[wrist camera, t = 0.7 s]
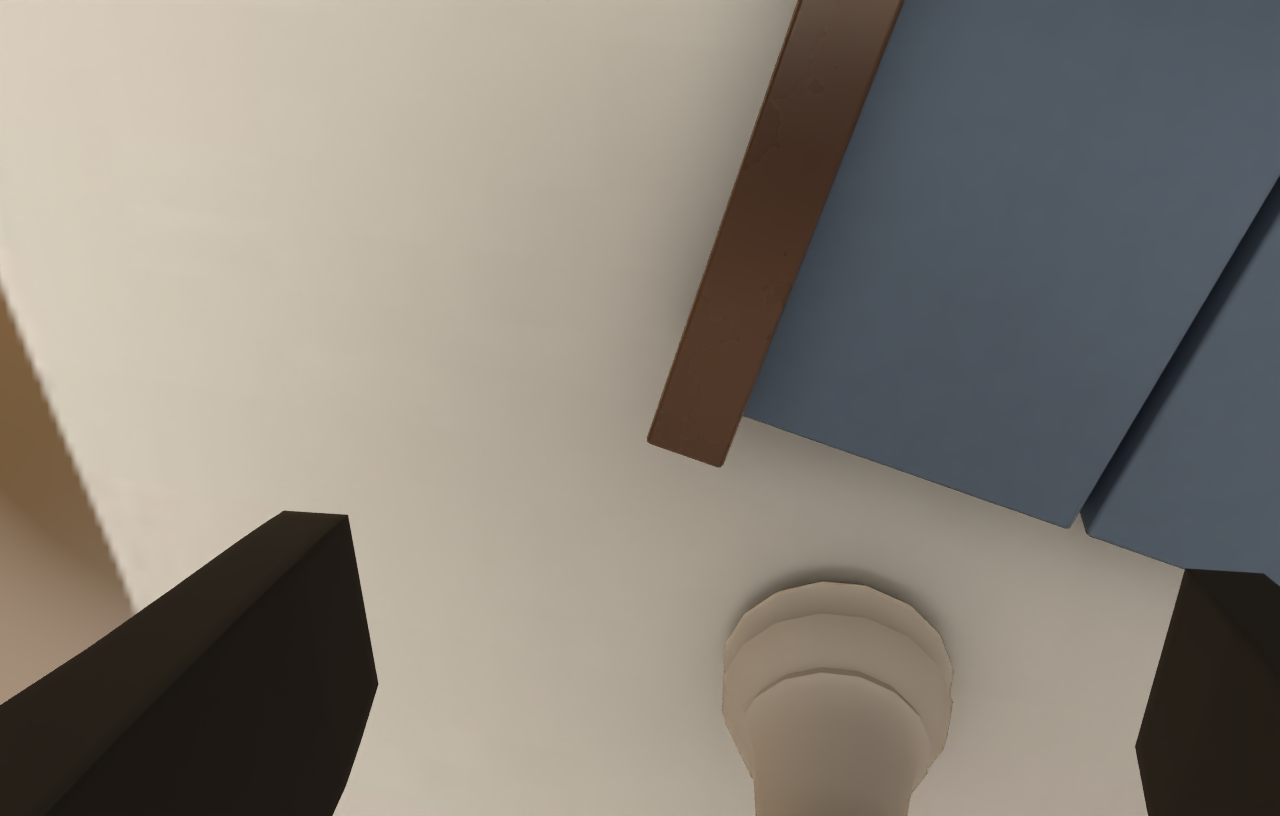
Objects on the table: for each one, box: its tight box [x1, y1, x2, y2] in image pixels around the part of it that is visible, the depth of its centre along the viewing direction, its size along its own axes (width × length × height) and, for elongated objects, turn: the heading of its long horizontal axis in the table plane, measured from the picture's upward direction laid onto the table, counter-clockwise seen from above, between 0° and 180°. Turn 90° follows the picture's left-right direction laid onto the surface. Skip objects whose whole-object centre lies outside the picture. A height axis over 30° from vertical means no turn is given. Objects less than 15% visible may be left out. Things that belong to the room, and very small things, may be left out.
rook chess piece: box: [722, 581, 953, 816], centre depth 19 cm, size 4×4×8 cm
